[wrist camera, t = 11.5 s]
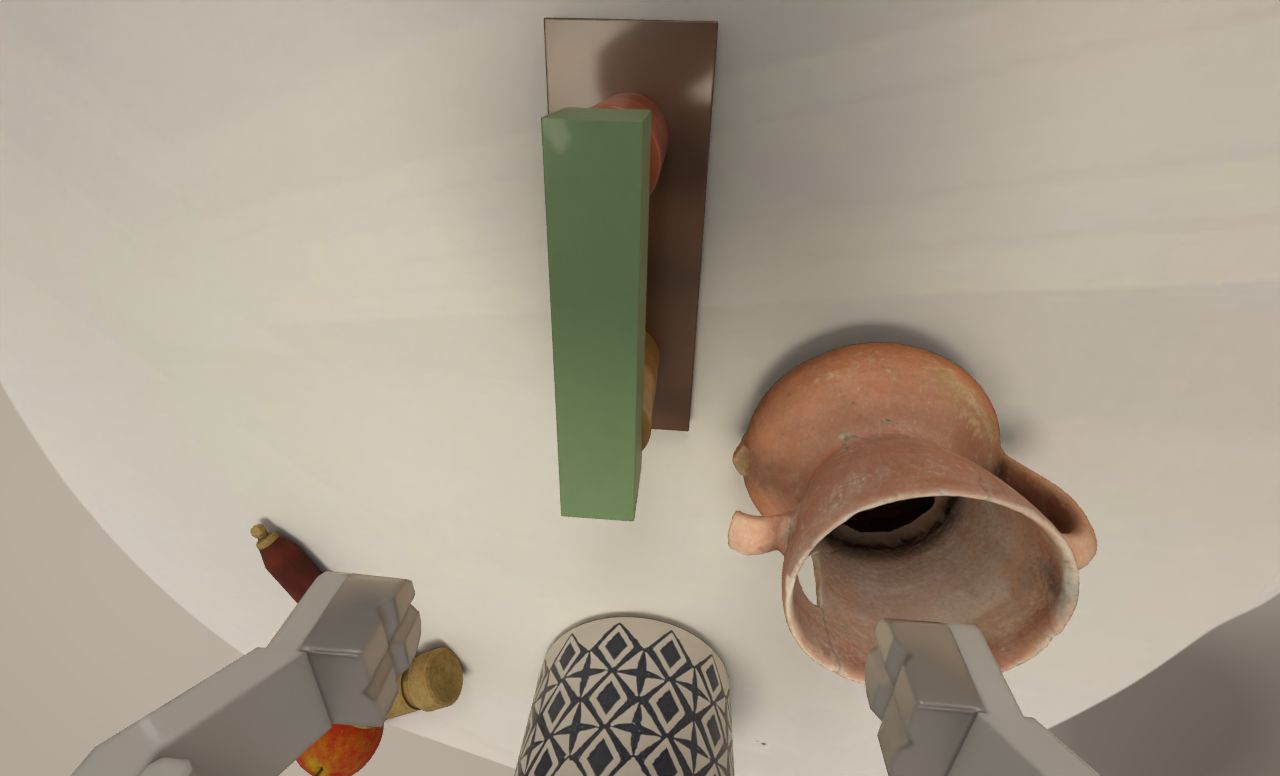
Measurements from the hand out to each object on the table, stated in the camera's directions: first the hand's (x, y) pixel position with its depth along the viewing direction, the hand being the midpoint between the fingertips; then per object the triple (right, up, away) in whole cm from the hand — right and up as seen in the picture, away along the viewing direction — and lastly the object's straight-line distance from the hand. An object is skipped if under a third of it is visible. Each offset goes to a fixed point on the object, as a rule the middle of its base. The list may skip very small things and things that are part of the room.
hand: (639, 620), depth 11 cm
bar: (-1, +7, +16) cm, 17 cm away
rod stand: (-1, +12, +24) cm, 27 cm away
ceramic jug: (+14, +2, +28) cm, 32 cm away
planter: (0, -20, +42) cm, 46 cm away
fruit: (-26, -24, +46) cm, 58 cm away
